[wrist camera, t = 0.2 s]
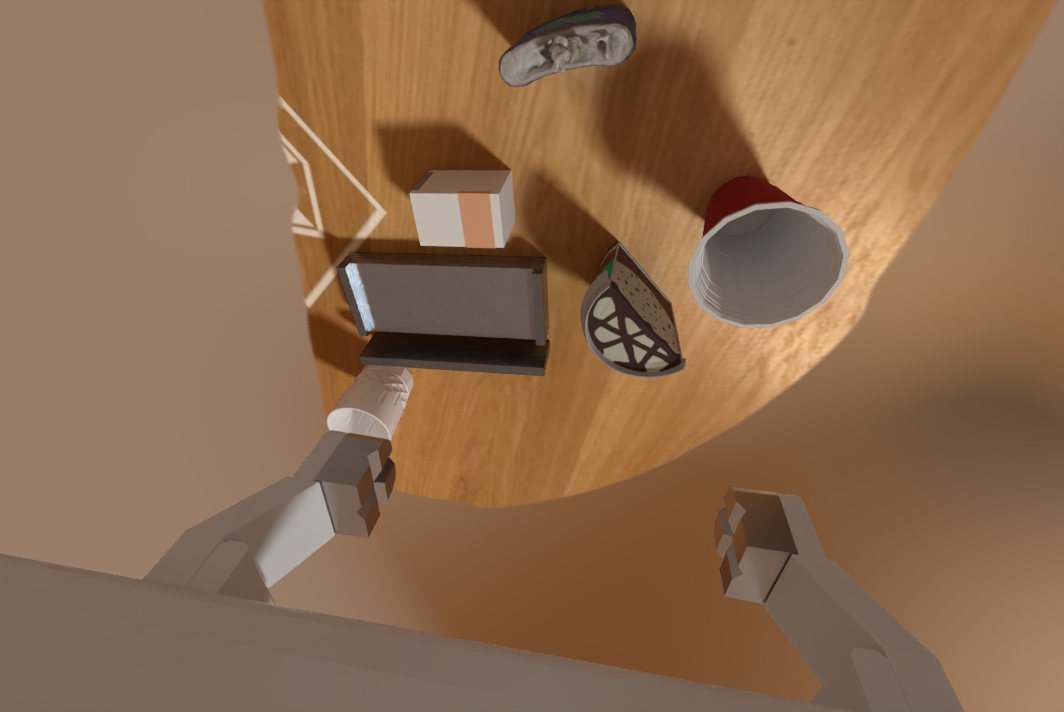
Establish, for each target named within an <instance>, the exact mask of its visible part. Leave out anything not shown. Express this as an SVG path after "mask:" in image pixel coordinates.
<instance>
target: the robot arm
mask: <svg viewBox="0 0 1064 712" xmlns="http://www.w3.org/2000/svg"><path fill="white" fill-rule="evenodd" d="M391 452H392V446H391V441H390V440H388V439H384V438H378V437H372V436H366V435H360V434H354V433H346V432H340V431H334V430H330V431H329V432H327V433H325V434H324V436H323V437H322V439H321V440H320V441H319V442H318V444H317V445H316V447H315V448H314V449H313V450H312V452H311V453H310V455H309V456H308V457H307V458H306V460H305V461H304V462H303V464H302V465H301V466H300V468H299V469H298V471H297V472H296V473H295V474H294V476H293V477H292V478H291V477H285V478H283V479H281V480H280V481H278V482H276V483H274V484H273V485H270V486H269V487H267V488H265V489H263V490H261V491H259V492H257V493H256V494H253V495H252V496H250V497H248V498H246V499H244V500H242V501H240V502H239V503H237V504H235V505H233V506H231V507H229V508H227V509H225V510H224V511H222V512H220V513H218V514H216V515H214V516H212V517H211V518H209V519H207V520H205V521H203V522H201V523H199V524H197V525H196V526H194V527H192V528H190V529H188V530H187V531H185V532H184V533H183V534H182V536H181V537H180V538H179V539H178V540H177V541H176V542H175V544H174V545H173V546H172V547H171V548H170V549H169V550H168V551H167V553H166V554H165V555H164V556H163V557H162V558H161V559H160V561H159V562H158V563H157V564H156V565H155V566H154V567H153V568H152V570H151V571H150V572H149V573H148V574H147V575H146V576H145V577H144V579H143V580H140V579H134V578H128V577H123V576H118V575H113V574H107V573H102V572H96V571H91V570H85V569H80V568H75V567H69V566H63V565H58V564H53V563H47V562H42V561H36V560H31V559H26V558H21V557H16V556H10V555H6V554H0V712H964V709H963V708H962V705H961V703H960V702H959V699H958V698H957V696H956V693H955V691H954V689H953V688H952V685H951V683H950V681H949V679H948V677H947V676H946V674H945V672H944V670H943V667H942V665H941V663H940V661H939V660H938V659H937V658H936V657H935V656H934V655H933V654H932V653H931V652H930V651H929V650H928V649H927V648H926V647H924V646H923V645H922V644H921V643H920V642H919V641H918V640H917V639H916V638H915V637H914V636H913V635H912V634H910V633H909V631H907V630H906V629H905V628H904V627H903V626H902V625H901V624H900V623H899V622H898V621H897V620H896V619H895V618H894V617H892V616H891V615H890V614H889V613H888V612H887V611H886V610H885V609H884V608H883V607H882V606H881V605H880V604H879V603H878V602H877V601H875V600H874V599H873V598H872V597H871V596H870V595H869V594H868V593H867V592H866V591H864V589H863V588H862V587H861V586H859V585H858V584H857V583H856V582H855V581H854V580H853V579H852V578H851V577H850V576H849V575H848V574H847V573H846V572H845V571H844V570H842V569H841V568H840V567H839V566H838V565H837V564H836V563H835V562H834V561H832V560H826V559H825V556H824V553H823V551H822V548H821V546H820V543H819V541H818V538H817V536H816V533H815V530H814V528H813V526H812V523H811V520H810V518H809V515H808V513H807V510H806V507H805V505H804V502H803V500H802V499H801V498H800V497H799V496H794V495H786V494H779V493H772V492H764V491H757V490H749V489H741V488H734V487H729V488H728V489H727V491H726V493H725V496H724V503H725V507H724V508H722V509H721V510H720V511H718V514H717V517H716V520H715V528H714V541H715V547H716V552H717V553H718V554H719V555H720V556H721V558H722V559H723V561H722V564H721V566H720V569H719V570H720V575H721V581H722V586H723V592H724V596H725V597H730V598H735V599H740V600H746V601H751V602H756V603H761V604H764V607H765V609H766V610H767V611H768V613H769V614H770V615H771V617H772V618H773V620H774V621H775V622H776V624H777V625H778V626H779V628H780V629H781V630H782V632H783V633H784V635H785V636H786V637H787V639H788V640H789V642H790V643H791V644H792V646H793V647H794V648H795V650H796V651H797V653H798V654H799V655H800V657H801V658H802V659H803V661H804V662H805V664H806V665H807V666H808V668H809V669H810V670H811V672H812V673H813V675H814V676H815V677H816V679H817V680H818V681H819V683H820V684H821V685H822V688H821V689H820V690H819V691H818V692H817V694H816V695H815V696H814V697H813V699H812V700H811V701H810V702H809V703H808V702H803V701H797V700H792V699H787V698H781V697H776V696H770V695H765V694H759V693H754V692H748V691H743V690H738V689H732V688H727V687H721V686H716V685H711V684H705V683H699V682H694V681H689V680H683V679H678V678H672V677H667V676H661V675H655V674H650V673H645V672H640V671H634V670H629V669H624V668H618V667H613V666H607V665H602V664H596V663H591V662H585V661H580V660H575V659H569V658H564V657H558V656H553V655H547V654H542V653H536V652H531V651H525V650H520V649H514V648H509V647H504V646H498V645H493V644H487V643H482V642H476V641H470V640H465V639H460V638H454V637H448V636H443V635H438V634H432V633H427V632H422V631H416V630H411V629H405V628H400V627H394V626H389V625H384V624H378V623H373V622H367V621H361V620H356V619H351V618H346V617H340V616H335V615H329V614H324V613H318V612H313V611H308V610H302V609H297V608H291V607H286V606H280V605H275V603H274V600H273V598H272V596H271V594H270V592H269V590H268V588H269V587H271V586H272V585H273V584H274V583H275V582H277V581H278V580H279V579H281V578H282V577H283V576H284V575H286V574H287V573H288V572H289V571H291V570H292V569H293V568H294V567H296V566H297V565H298V564H300V563H301V562H302V561H303V560H305V559H306V558H307V557H308V556H309V555H311V554H312V553H313V552H314V551H316V550H317V549H318V548H320V547H321V546H322V545H323V544H325V543H326V542H327V541H328V540H330V539H331V538H332V537H334V536H335V533H337V534H344V535H352V536H359V537H367V538H369V536H370V534H371V532H372V530H373V528H374V526H375V525H376V523H377V521H378V519H379V517H380V511H379V506H380V505H381V504H383V503H384V502H386V501H388V499H389V497H390V495H391V492H392V490H393V486H394V482H395V475H396V469H395V463H394V462H393V461H392V460H391V459H390V458H389V456H390V454H391Z"/></svg>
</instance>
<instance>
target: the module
mask: <svg viewBox="0 0 1064 712" xmlns="http://www.w3.org/2000/svg"><path fill="white" fill-rule="evenodd" d="M409 194H410V199H411V203H412V208H413V213H414V217H415V222H416V227H417V231H418V236H419V241H420V245H421V246H453V247H466V248H504V246H505V244H506V242H507V239H508V237H509V235H510V232H511V230H512V228H513V225H514V223H515V208H514V195H513V182H512V170H430V171H429V172H427V173H426V174H425V175H424V176H423V178H422V179H421V180H420V181H419V182H418V183H417V184H416V185H415V186H414V187H413V189H412V191H411V192H410V193H409Z"/></svg>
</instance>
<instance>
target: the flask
mask: <svg viewBox="0 0 1064 712" xmlns="http://www.w3.org/2000/svg"><path fill="white" fill-rule="evenodd" d="M635 29H636V23H635V19H634V16H633V15H632V13H631V11H630V9H628V8H626V7H624V6H621V7H619V6H616V5H610V6H609V5H608V6H600V7H599V6H597V7H596V6H595V8H588V9H587V8H586V9H583V10H579V11H573V12H572V13H570V14H568V15H565V16H562V17H560V18H557V19H554V20H552V21H550V22H546V23H545V24H542V25H540V26H538V27H536V28H534V29H532V30H531V31H529V32H527V33H526V34H525V35H524V36H523V37H522V38H521V39H520V40H519V41H518V42H516V43H515V44H514V45H513V46H512V47H510V48H509V49H508V50H507V51H505V53H504V54H503V55H502V56H501V58H500V60H499V72H500V76H501V78H502V79H503V80H504V82H505V83H506V84H508V85H509V86H510V87H520V86H526V85H528V84H530V83H532V82H533V81H535V80H538V79H540V78H542V77H544V76H547V75H550V74H555V73H557V72H559V73H564V71H566V70H569V69H574V68H578V67H586V66H611V65H619V64H620V63H622V62H624V61H625V60H626V59H628V58H629V57H630V56H631V54H632V52H633V51H634V50H635V49H636V39H637V38H636V30H635Z"/></svg>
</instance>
